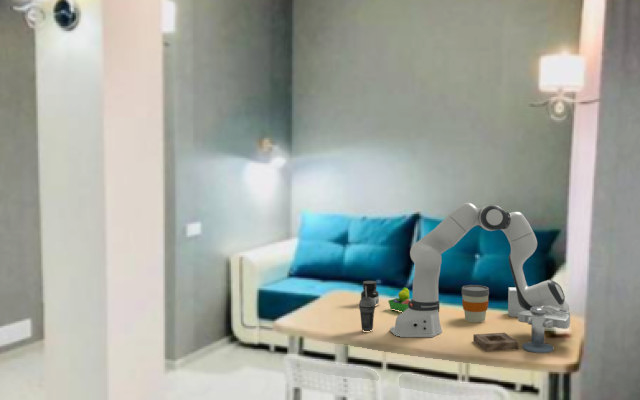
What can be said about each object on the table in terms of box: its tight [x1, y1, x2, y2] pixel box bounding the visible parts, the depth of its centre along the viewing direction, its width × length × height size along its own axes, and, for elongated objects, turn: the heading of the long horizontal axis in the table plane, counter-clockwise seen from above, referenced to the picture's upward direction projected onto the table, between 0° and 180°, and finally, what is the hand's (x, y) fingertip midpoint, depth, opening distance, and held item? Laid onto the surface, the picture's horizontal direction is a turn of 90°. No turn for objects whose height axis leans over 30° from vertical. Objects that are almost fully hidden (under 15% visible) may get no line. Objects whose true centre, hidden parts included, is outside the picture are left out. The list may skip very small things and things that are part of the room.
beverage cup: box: [358, 286, 376, 331], centre depth 311 cm, size 7×7×20 cm
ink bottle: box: [360, 280, 380, 305], centre depth 357 cm, size 10×9×12 cm
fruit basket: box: [387, 287, 410, 312], centre depth 346 cm, size 11×9×11 cm
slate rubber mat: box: [521, 341, 554, 354], centre depth 285 cm, size 12×12×1 cm
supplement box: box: [507, 286, 526, 318], centre depth 335 cm, size 7×7×13 cm
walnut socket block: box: [472, 332, 519, 352], centre depth 289 cm, size 14×14×3 cm
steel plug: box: [530, 306, 546, 345], centre depth 284 cm, size 6×6×14 cm
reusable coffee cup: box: [461, 284, 490, 323], centre depth 328 cm, size 12×13×15 cm
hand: (537, 323), depth 283 cm, fingers closed on steel plug, 5 cm apart
